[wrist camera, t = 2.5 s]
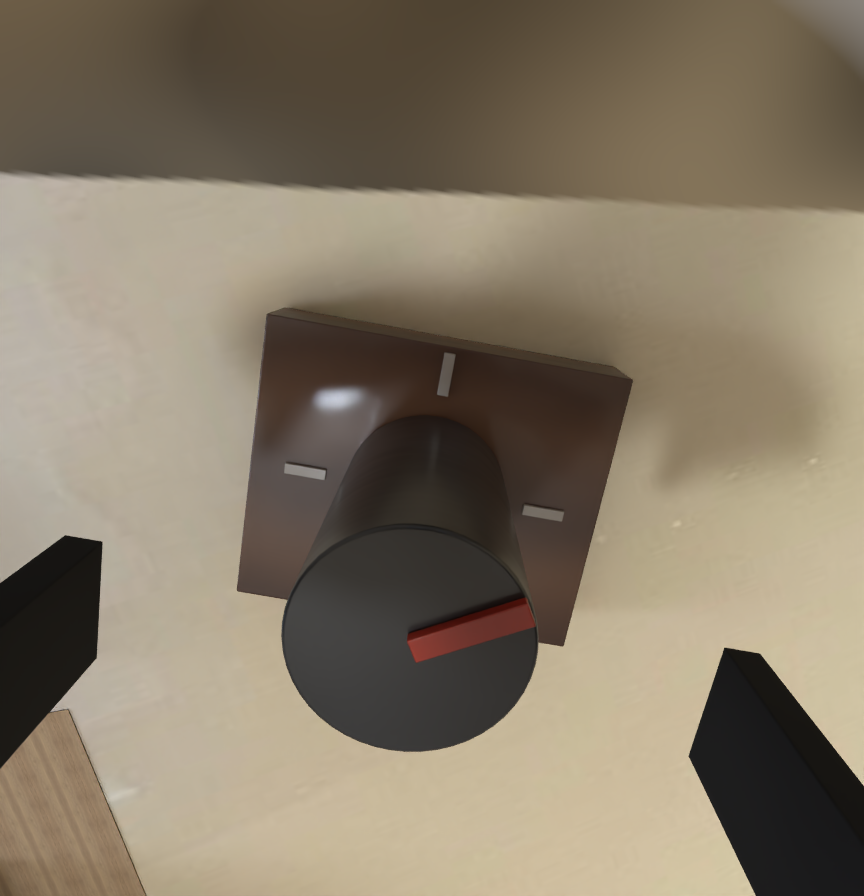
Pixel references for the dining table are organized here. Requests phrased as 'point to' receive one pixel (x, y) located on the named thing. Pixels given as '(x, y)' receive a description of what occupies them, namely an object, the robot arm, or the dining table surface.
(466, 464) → the dimmer knob
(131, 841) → the dining table surface
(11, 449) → the dining table surface
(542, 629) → the dimmer panel
